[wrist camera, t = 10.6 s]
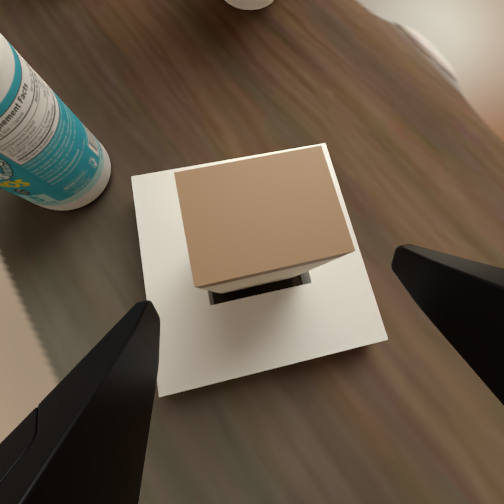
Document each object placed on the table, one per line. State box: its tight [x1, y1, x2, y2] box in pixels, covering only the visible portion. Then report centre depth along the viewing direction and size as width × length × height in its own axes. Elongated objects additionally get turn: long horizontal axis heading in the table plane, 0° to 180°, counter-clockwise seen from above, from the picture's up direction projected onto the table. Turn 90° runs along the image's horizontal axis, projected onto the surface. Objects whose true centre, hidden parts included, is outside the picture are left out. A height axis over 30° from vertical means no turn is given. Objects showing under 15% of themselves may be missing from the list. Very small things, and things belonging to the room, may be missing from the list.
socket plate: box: [131, 143, 388, 397], centre depth 18 cm, size 16×16×2 cm
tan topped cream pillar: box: [174, 146, 355, 294], centre depth 14 cm, size 4×6×11 cm
